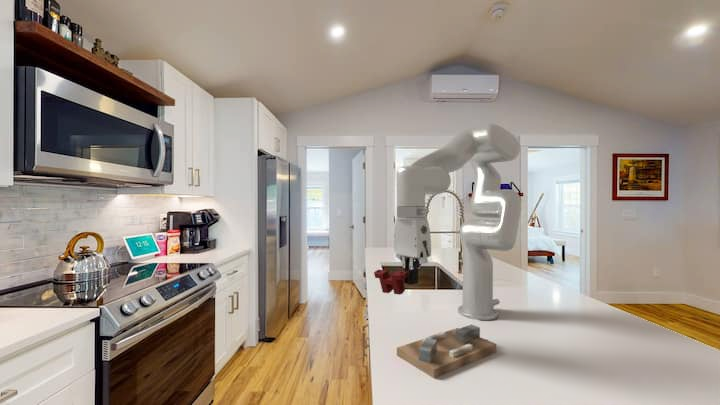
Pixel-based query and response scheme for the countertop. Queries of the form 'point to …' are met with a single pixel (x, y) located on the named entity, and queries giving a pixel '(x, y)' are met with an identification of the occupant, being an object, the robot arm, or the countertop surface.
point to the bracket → (391, 281)
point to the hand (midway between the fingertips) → (411, 283)
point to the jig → (447, 350)
